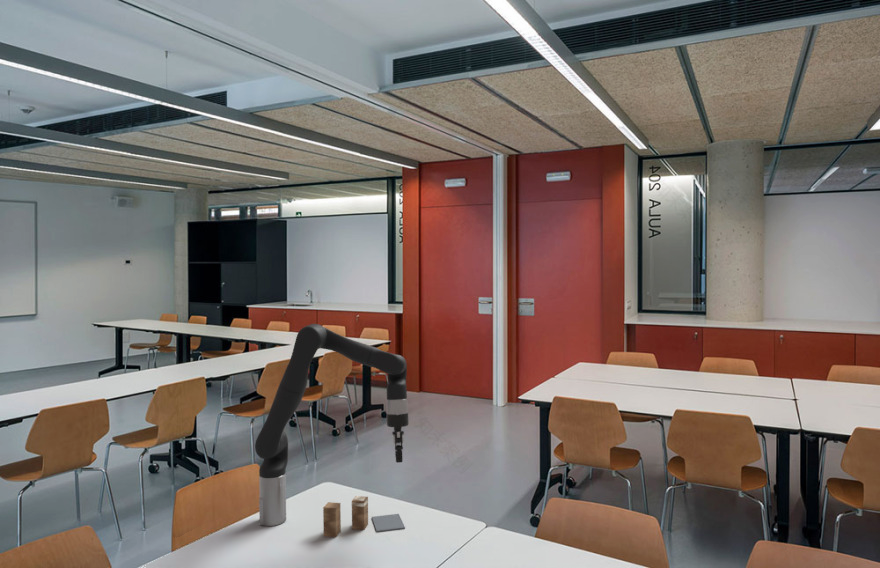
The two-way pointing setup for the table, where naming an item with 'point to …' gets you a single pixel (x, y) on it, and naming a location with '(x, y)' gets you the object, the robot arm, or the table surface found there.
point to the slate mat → (388, 522)
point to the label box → (360, 512)
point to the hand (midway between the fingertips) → (398, 460)
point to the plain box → (332, 519)
